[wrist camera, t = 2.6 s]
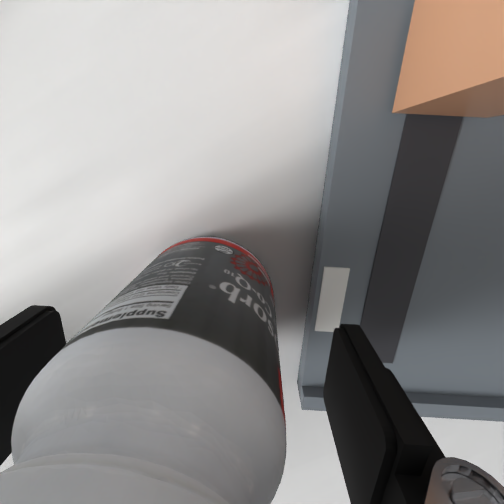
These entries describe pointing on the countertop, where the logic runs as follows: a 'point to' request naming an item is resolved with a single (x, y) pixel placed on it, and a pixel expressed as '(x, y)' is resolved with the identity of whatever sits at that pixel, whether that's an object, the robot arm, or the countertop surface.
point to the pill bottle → (161, 393)
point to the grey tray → (409, 234)
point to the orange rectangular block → (453, 59)
